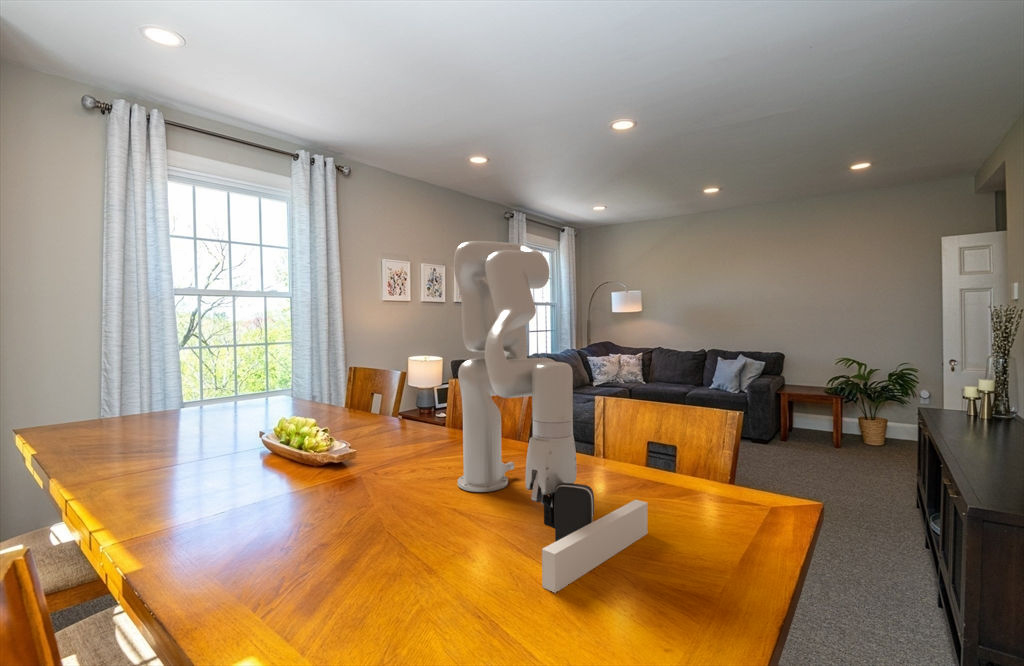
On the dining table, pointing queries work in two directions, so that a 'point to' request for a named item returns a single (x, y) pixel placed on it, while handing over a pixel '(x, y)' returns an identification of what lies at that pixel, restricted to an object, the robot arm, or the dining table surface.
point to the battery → (572, 508)
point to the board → (592, 545)
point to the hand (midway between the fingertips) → (553, 525)
